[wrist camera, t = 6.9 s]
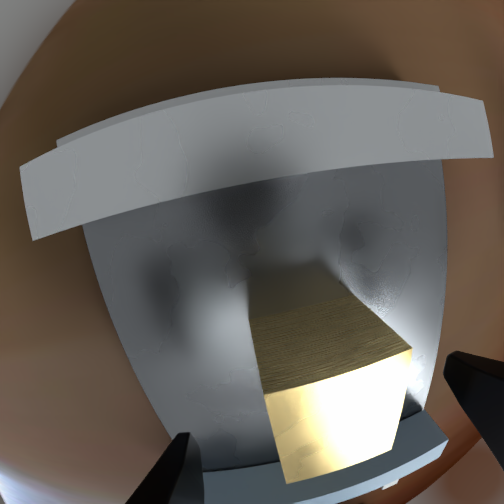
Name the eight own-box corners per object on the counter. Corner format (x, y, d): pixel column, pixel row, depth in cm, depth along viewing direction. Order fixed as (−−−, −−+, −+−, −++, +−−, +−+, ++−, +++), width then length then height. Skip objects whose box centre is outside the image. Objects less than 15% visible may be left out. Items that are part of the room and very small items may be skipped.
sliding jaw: (405, 462, 14) (420, 488, 11) (225, 512, 13) (227, 543, 11) (424, 409, 12) (448, 439, 10) (193, 472, 12) (192, 514, 9)
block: (354, 389, 11) (391, 449, 7) (269, 413, 11) (286, 484, 7) (353, 294, 10) (412, 348, 6) (248, 320, 10) (263, 395, 6)
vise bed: (405, 432, 15) (412, 442, 14) (213, 484, 14) (213, 497, 13) (411, 96, 10) (426, 90, 8) (82, 146, 9) (68, 142, 8)
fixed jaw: (441, 158, 9) (493, 157, 6) (81, 224, 8) (32, 241, 6) (426, 90, 8) (475, 74, 5) (68, 142, 8) (16, 132, 5)
